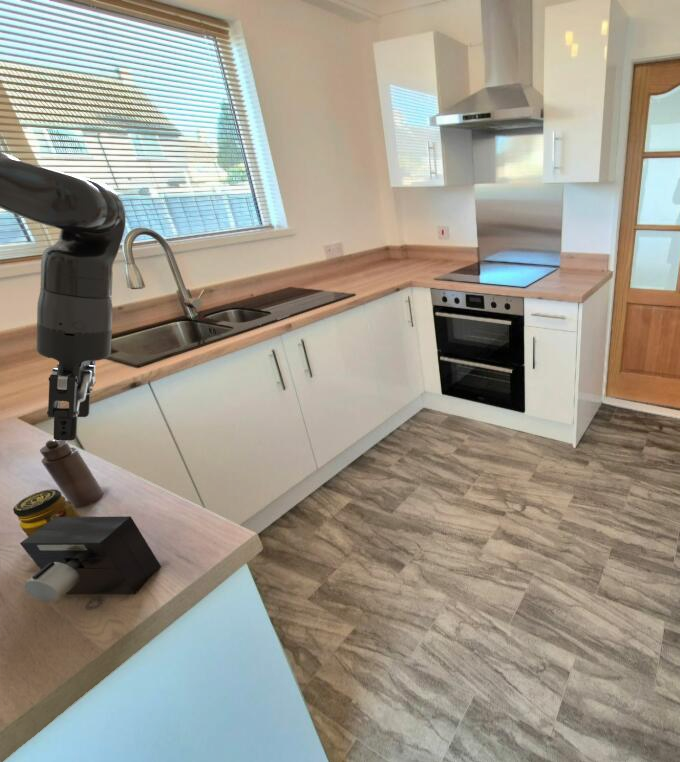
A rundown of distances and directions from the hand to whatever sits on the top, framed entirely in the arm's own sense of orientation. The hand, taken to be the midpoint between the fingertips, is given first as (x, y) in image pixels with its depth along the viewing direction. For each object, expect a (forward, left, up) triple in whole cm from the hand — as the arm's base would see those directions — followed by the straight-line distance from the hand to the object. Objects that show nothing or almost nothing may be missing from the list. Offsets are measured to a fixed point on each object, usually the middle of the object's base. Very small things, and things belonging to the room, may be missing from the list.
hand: (72, 427), depth 65 cm
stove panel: (+2, -10, -22) cm, 25 cm away
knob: (+1, -14, -18) cm, 23 cm away
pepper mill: (-16, +13, -22) cm, 30 cm away
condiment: (-8, -2, -23) cm, 24 cm away
